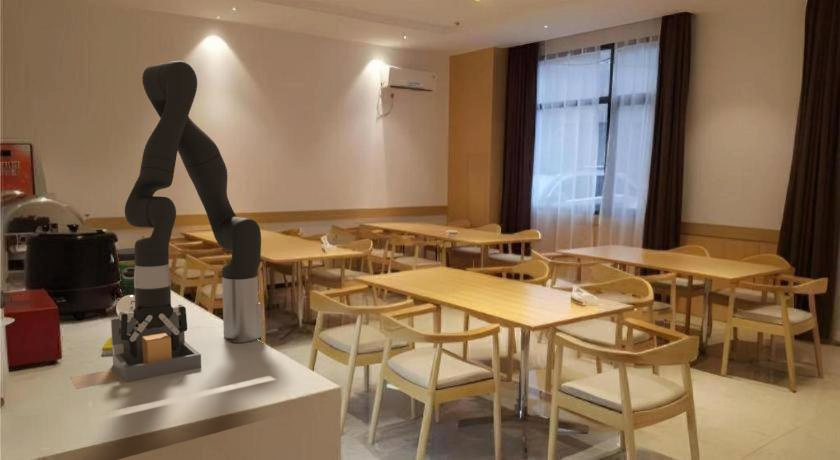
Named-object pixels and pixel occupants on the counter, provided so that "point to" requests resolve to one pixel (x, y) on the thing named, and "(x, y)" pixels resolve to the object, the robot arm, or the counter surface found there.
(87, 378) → the pad
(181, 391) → the counter surface
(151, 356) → the block
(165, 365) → the case
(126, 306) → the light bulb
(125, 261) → the coffee jar
